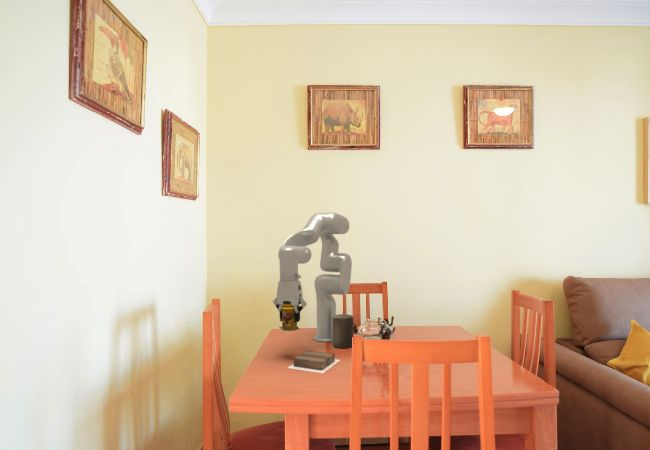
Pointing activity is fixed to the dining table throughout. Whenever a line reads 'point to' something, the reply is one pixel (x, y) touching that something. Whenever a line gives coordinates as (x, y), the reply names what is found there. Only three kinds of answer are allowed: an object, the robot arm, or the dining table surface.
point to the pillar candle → (342, 331)
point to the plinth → (314, 360)
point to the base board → (314, 369)
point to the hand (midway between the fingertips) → (289, 320)
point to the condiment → (288, 317)
